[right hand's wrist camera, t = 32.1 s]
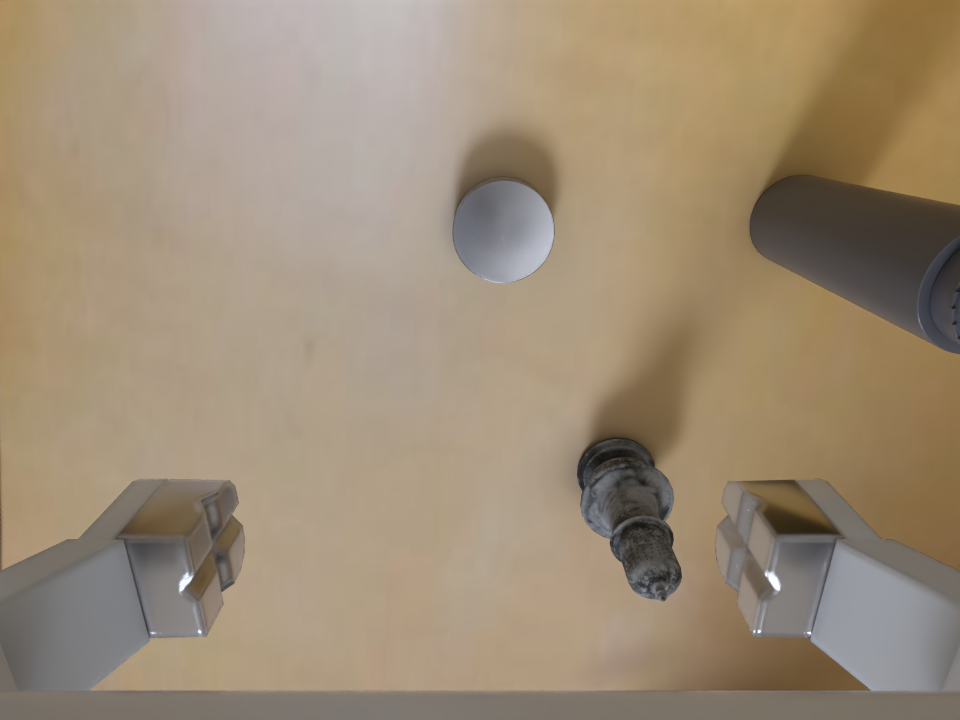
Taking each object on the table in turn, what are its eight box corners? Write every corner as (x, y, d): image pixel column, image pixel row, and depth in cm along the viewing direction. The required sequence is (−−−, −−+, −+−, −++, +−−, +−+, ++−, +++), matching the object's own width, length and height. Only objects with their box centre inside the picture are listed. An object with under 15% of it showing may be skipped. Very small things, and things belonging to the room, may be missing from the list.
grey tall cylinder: (731, 221, 36) (923, 305, 21) (804, 155, 35) (1069, 191, 19) (783, 280, 38) (1000, 402, 22) (855, 219, 36) (1141, 302, 21)
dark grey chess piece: (572, 437, 42) (605, 557, 30) (660, 431, 41) (726, 549, 30) (573, 510, 44) (605, 647, 33) (657, 505, 44) (718, 641, 32)
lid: (569, 209, 36) (574, 215, 34) (517, 291, 38) (519, 300, 36) (486, 156, 35) (486, 159, 33) (436, 243, 37) (433, 250, 35)
